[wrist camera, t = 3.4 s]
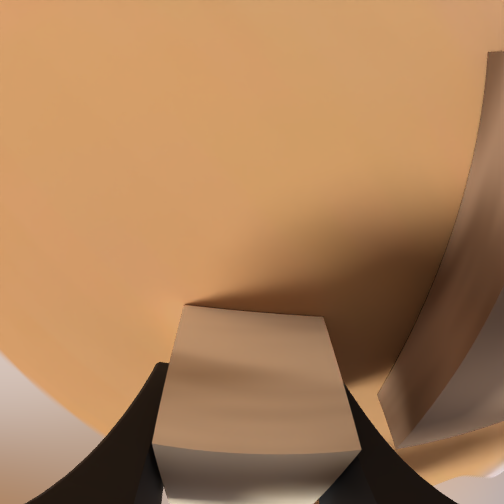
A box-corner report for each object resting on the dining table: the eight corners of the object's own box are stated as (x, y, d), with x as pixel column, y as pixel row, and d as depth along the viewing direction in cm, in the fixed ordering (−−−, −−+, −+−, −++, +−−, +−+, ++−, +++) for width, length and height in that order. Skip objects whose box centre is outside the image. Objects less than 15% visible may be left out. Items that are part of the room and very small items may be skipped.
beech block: (294, 400, 12) (309, 508, 8) (185, 392, 12) (169, 503, 7) (322, 316, 10) (361, 449, 6) (184, 304, 10) (152, 443, 5)
